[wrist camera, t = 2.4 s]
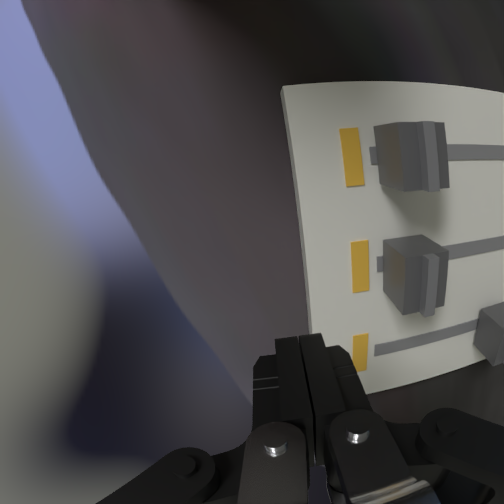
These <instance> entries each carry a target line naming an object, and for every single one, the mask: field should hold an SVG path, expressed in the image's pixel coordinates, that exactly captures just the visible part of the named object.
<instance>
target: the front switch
mask: <svg viewBox="0 0 504 504" xmlns="http://www.w3.org/2000/svg"><path fill="white" fill-rule="evenodd" d="M373 128H374V136H375V143H376V152H377V161H378V171H379V183H380V184H381V185H384V186H387V187H390V188H394V189H397V190H400V191H403V192H408V191H419V190H423V191H427V192H437V191H440V189H443V188H450V185H449V166H448V153H447V142H446V132H445V124H444V122H434V121H419V122H394V123H389V124H383V125H378V126H373Z"/></svg>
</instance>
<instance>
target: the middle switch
mask: <svg viewBox="0 0 504 504" xmlns="http://www.w3.org/2000/svg"><path fill="white" fill-rule="evenodd" d="M448 261H449V250H447V249H446V248H444V247H442V246H441V245H439V244H437V243H436V242H434V241H432V240H431V239H429V238H427V237H426V236H424V235H422V234H420V235H413V236H406V237H399V238H392V239H385V240H383V291H384V292H385V294H386V295H387V296H388V297H389V299H390V300H391V301H392V302H393V304H394V305H395V306H396V308H397V309H398V310H399V311H400V313H401V314H402V315H408V314H412V313H417V312H420V313H421V315H422V316H423V317H424V318H425V317H429V316H433V315H434V314H435V308H438V307H442V306H444V303H445V294H446V285H447V274H448Z"/></svg>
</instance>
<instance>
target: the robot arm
mask: <svg viewBox="0 0 504 504" xmlns="http://www.w3.org/2000/svg"><path fill="white" fill-rule="evenodd" d="M275 348H276V354H275V355H267V356H260V357H259V359H258V360H257V362H256V364H255V365H254V367H253V426H252V431H251V433H250V435H249V436H248V438H247V440H246V441H245V442H244V443H243V444H242V445H240V446H239V447H237V448H235V449H233V450H230V451H227V452H224V453H220V454H217V455H213V456H210V455H209V454H208V453H207V452H205V451H203V450H201V449H198V448H190V447H187V448H181V449H177V450H174V451H172V452H170V453H169V454H167V455H165V456H164V457H163V458H161V459H160V460H159V461H158V462H156V463H155V464H154V465H152V466H151V467H149V468H148V469H147V470H145V471H144V472H142V473H141V474H140V475H138V476H137V477H135V478H134V479H132V480H131V481H129V482H128V483H127V484H125V485H124V486H122V487H121V488H119V489H118V490H116V491H115V492H113V493H112V494H110V495H109V496H107V497H105V498H104V499H103V500H101V501H99V502H98V503H96V504H308V489H309V486H310V469H309V467H313V466H314V454H315V460H316V465H317V466H319V465H325V469H326V474H327V484H326V485H327V490H328V494H329V497H330V501H331V504H504V427H503V426H500V425H497V424H495V423H492V422H489V421H486V420H483V419H481V418H478V417H475V416H472V415H470V414H467V413H464V412H462V411H459V410H456V409H452V408H440V409H436V410H434V411H432V412H430V413H429V414H427V415H426V416H425V417H424V418H423V420H422V422H421V423H413V424H396V423H391V422H388V421H385V420H383V418H382V417H381V416H380V415H378V414H377V413H375V412H373V410H372V408H371V406H370V403H369V401H368V398H367V396H366V393H365V391H364V388H363V386H362V383H361V381H360V378H359V376H358V375H357V371H356V368H355V366H354V364H353V361H352V359H351V356H350V354H349V353H348V352H347V351H346V350H345V349H343V348H342V347H341V346H340V345H335V346H330V347H326V346H325V343H324V340H323V337H322V334H321V333H315V334H308V335H301V336H299V343H298V338H297V336H295V337H287V338H280V339H275Z"/></svg>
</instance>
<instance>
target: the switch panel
mask: <svg viewBox="0 0 504 504" xmlns="http://www.w3.org/2000/svg"><path fill="white" fill-rule="evenodd" d="M280 95H281V101H282V107H283V113H284V120H285V126H286V133H287V139H288V146H289V153H290V160H291V167H292V174H293V181H294V189H295V197H296V205H297V213H298V221H299V230H300V239H301V248H302V257H303V267H304V277H305V288H306V299H307V310H308V322H309V334H315V333H321V334H322V337H323V340H324V343H325V346H326V347H330V346H335V345H340V346H341V347H342V348H343V349H345V350H346V351H347V352H348V353H349V354H350V356H351V359H352V361H353V364H354V366H355V368H356V371H357V375H358V376H359V378H360V381H361V383H362V386H363V388H364V391H365V393H366V394H370V393H374V392H379V391H383V390H387V389H391V388H395V387H399V386H403V385H407V384H410V383H414V382H418V381H421V380H424V379H428V378H431V377H434V376H438V375H441V374H444V373H447V372H450V371H453V370H456V369H459V368H462V367H465V366H467V365H470V364H473V363H476V362H478V361H481V360H484V359H486V358H485V356H484V355H483V354H482V353H481V352H480V351H479V350H478V349H477V348H476V346H475V345H474V344H473V343H474V339H475V334H476V330H477V325H478V320H479V315H480V310H481V309H482V308H485V307H488V306H492V305H495V304H498V303H501V302H504V93H501V92H495V91H489V90H483V89H476V88H469V87H461V86H453V85H443V84H432V83H417V82H394V81H349V82H326V83H310V84H298V85H288V86H282V89H281V92H280ZM419 121H434V122H444V124H445V132H446V142H447V153H448V166H449V185H450V188H443V189H440V191H437V192H427V191H423V190H419V191H408V192H403V191H400V190H397V189H394V188H390V187H387V186H384V185H381V184H380V183H379V171H378V161H377V152H376V143H375V136H374V128H373V126H378V125H383V124H389V123H394V122H419ZM420 234H422V235H424V236H426V237H427V238H429V239H431V240H432V241H434V242H436V243H437V244H439V245H441V246H442V247H444V248H446V249H447V250H449V261H448V274H447V285H446V294H445V303H444V306H442V307H438V308H435V314H434V315H433V316H429V317H425V318H424V317H423V316H422V315H421V313H420V312H417V313H412V314H408V315H402V314H401V313H400V311H399V310H398V309H397V308H396V306H395V305H394V304H393V302H392V301H391V300H390V299H389V297H388V296H387V295H386V294H385V292H384V291H383V240H385V239H392V238H399V237H406V236H413V235H420Z"/></svg>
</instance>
